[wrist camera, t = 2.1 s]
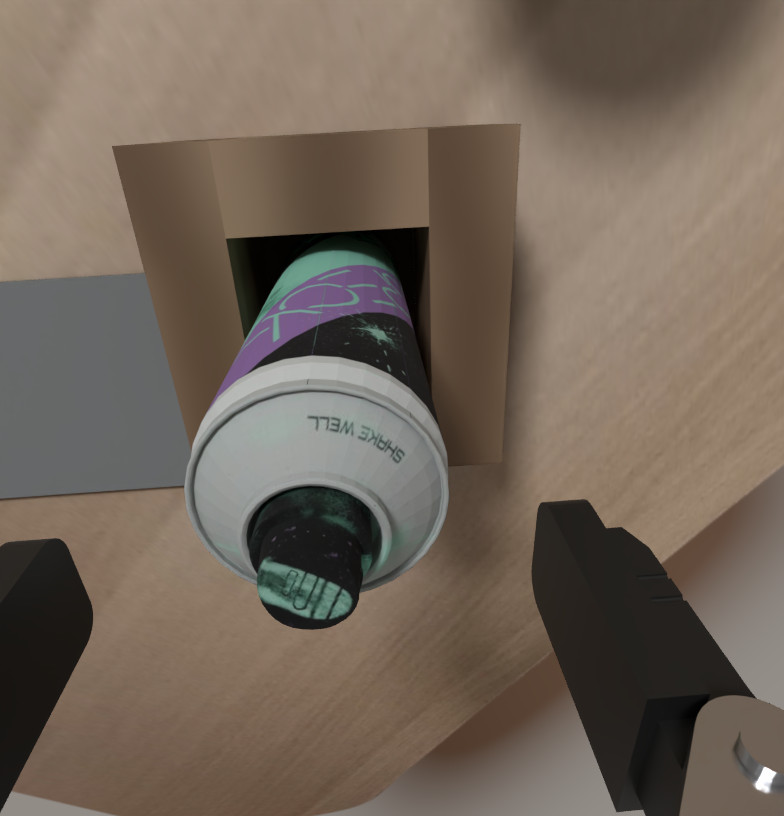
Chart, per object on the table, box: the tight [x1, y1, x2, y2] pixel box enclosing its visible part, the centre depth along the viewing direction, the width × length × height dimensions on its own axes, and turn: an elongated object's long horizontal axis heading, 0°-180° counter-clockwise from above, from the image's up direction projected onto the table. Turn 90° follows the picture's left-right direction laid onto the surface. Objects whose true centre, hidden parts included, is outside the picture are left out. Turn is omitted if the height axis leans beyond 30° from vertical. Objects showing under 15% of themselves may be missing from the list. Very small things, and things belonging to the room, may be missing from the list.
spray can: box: [184, 230, 449, 630], centre depth 18 cm, size 6×6×20 cm
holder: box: [112, 124, 521, 466], centre depth 23 cm, size 13×13×7 cm
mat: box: [0, 273, 192, 499], centre depth 28 cm, size 12×12×1 cm
